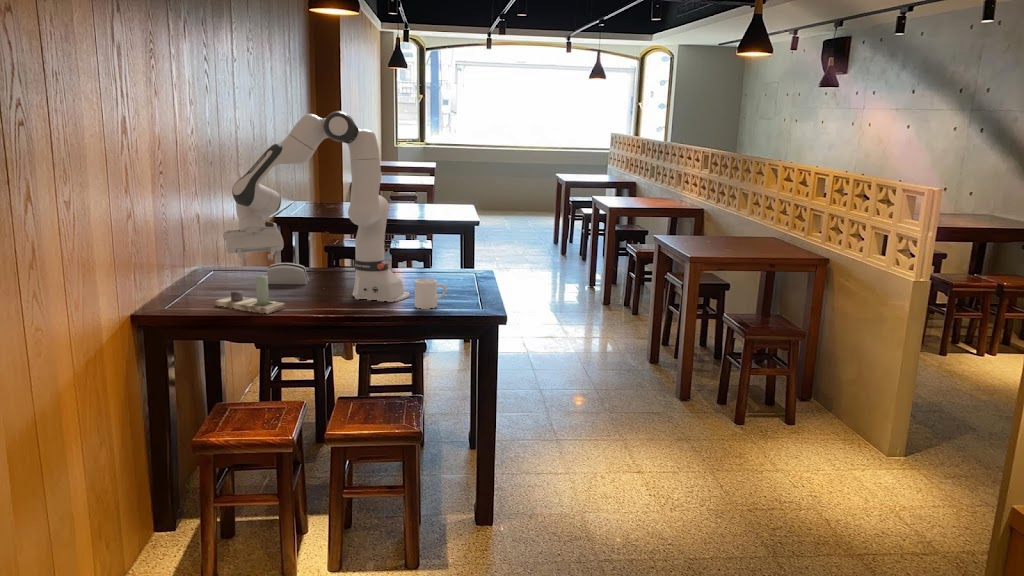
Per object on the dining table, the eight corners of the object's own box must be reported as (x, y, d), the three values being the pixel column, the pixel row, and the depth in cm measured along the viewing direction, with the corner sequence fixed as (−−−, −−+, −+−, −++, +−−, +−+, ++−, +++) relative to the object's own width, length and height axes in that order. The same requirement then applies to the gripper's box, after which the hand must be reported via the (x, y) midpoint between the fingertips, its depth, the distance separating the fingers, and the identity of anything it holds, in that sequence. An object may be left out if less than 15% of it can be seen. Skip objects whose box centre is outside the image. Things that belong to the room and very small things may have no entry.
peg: (271, 308, 266) (269, 276, 264) (263, 311, 263) (262, 278, 260) (262, 307, 268) (261, 275, 265) (255, 309, 264) (253, 277, 262)
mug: (445, 310, 270) (445, 284, 268) (413, 308, 271) (412, 282, 269) (448, 304, 278) (448, 279, 276) (417, 303, 279) (417, 278, 277)
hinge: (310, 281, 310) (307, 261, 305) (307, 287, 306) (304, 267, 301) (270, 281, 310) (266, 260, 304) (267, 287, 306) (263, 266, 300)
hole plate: (284, 308, 267) (284, 295, 266) (267, 314, 259) (267, 300, 258) (233, 300, 276) (232, 287, 275) (215, 305, 268) (214, 292, 267)
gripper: (222, 225, 268) (227, 256, 261) (280, 223, 277) (286, 253, 271) (222, 236, 273) (226, 266, 266) (279, 233, 282) (285, 263, 275)
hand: (257, 259), depth 268 cm, fingers open, 8 cm apart
